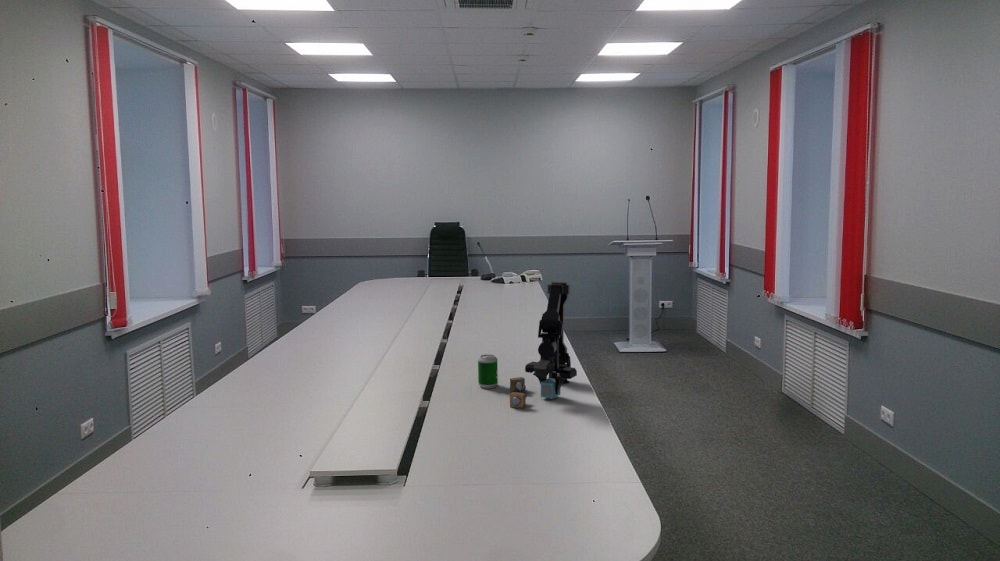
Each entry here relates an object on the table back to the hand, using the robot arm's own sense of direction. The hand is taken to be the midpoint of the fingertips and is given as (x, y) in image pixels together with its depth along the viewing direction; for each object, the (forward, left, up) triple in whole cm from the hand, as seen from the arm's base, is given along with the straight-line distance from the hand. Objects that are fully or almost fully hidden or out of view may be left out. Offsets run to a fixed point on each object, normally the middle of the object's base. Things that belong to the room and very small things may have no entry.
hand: (550, 392), depth 237 cm
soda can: (+14, -24, -2) cm, 28 cm away
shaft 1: (+7, -12, -2) cm, 14 cm away
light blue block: (0, 0, -1) cm, 1 cm away
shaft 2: (+14, +2, -2) cm, 15 cm away
